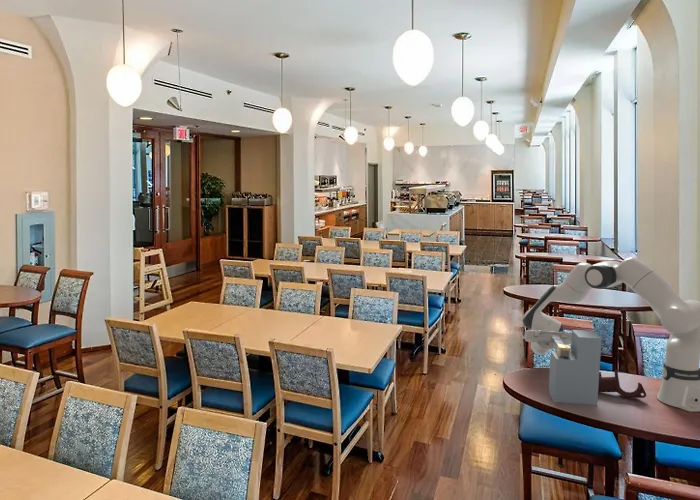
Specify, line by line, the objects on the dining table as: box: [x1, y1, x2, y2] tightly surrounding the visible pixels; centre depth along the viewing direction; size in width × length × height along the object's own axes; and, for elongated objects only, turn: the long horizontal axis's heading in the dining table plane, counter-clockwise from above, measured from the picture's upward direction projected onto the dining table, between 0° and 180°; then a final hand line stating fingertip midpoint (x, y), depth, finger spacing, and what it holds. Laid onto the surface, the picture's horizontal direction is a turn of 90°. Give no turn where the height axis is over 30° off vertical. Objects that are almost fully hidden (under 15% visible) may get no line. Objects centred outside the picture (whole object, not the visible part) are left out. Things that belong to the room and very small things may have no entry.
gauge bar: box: [551, 335, 571, 358], centre depth 205 cm, size 4×20×4 cm, turn 169°
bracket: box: [598, 369, 647, 399], centre depth 202 cm, size 6×18×11 cm, turn 64°
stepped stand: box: [548, 329, 602, 406], centre depth 198 cm, size 16×10×26 cm, turn 80°
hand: (552, 332), depth 219 cm, fingers open, 8 cm apart
